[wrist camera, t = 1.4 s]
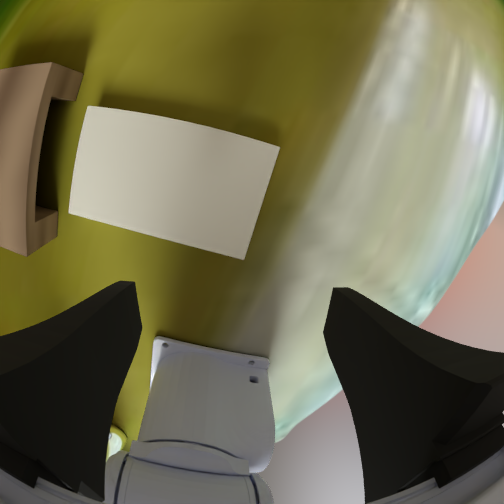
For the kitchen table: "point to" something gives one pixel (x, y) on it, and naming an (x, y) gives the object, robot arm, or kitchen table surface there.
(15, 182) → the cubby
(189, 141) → the tile
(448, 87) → the kitchen table surface
